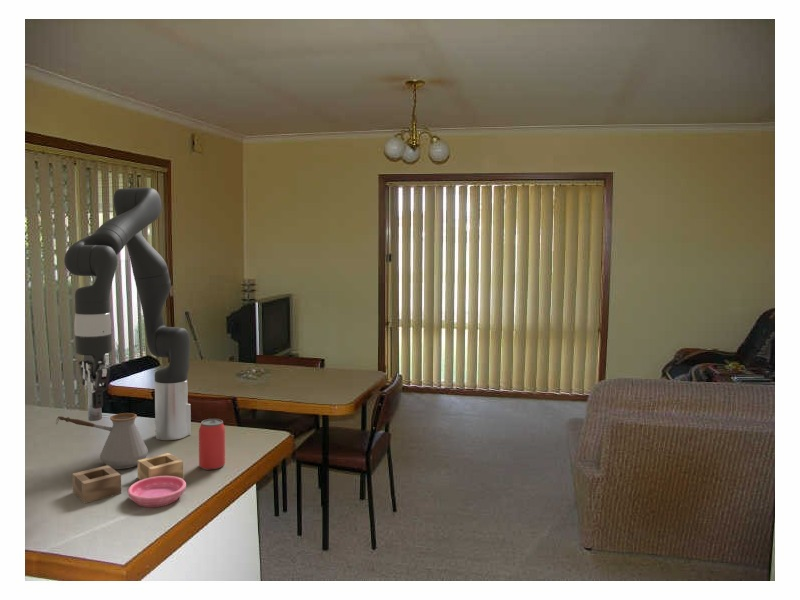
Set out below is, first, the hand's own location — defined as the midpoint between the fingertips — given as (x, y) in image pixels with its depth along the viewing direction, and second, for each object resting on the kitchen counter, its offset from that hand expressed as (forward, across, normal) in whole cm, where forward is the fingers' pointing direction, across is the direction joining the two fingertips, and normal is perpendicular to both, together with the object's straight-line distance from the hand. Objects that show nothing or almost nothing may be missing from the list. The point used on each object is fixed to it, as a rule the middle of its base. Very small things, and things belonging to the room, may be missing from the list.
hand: (95, 405), depth 139 cm
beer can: (+21, -2, -28) cm, 35 cm away
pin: (+3, 0, 0) cm, 3 cm away
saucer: (+21, -12, -9) cm, 26 cm away
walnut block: (+21, 0, 0) cm, 21 cm away
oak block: (+21, -2, -14) cm, 25 cm away
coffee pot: (+21, +15, -7) cm, 27 cm away
